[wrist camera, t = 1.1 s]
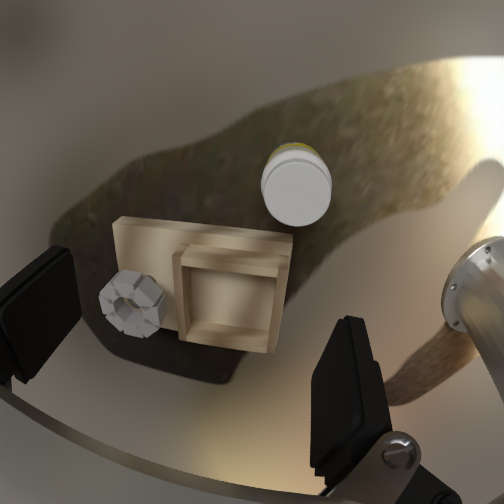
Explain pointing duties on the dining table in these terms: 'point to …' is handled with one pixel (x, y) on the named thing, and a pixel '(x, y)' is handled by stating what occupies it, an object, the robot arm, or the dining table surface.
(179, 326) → the wooden peg tray
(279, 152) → the supplement bottle
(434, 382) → the dining table surface
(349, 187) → the dining table surface
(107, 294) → the wheel
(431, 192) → the dining table surface
